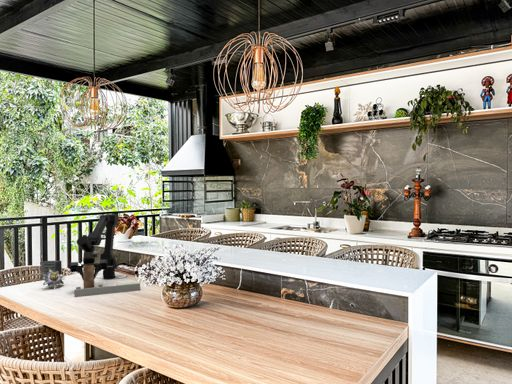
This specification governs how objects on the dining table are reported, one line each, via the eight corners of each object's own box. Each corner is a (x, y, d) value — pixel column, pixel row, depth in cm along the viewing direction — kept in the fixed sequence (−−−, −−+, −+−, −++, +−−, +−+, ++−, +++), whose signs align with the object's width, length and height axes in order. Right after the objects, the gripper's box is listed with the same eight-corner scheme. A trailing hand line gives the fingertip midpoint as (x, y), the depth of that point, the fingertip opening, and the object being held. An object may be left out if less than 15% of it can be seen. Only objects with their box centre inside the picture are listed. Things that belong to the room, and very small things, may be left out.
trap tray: (138, 284, 222) (138, 278, 222) (140, 290, 210) (140, 283, 210) (76, 290, 211) (76, 284, 211) (74, 296, 199) (74, 290, 199)
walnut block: (94, 290, 211) (93, 264, 211) (94, 292, 206) (93, 266, 206) (84, 291, 209) (83, 265, 209) (83, 293, 204) (83, 266, 204)
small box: (62, 276, 248) (62, 260, 248) (56, 279, 241) (55, 262, 241) (46, 276, 249) (46, 260, 249) (40, 279, 242) (39, 262, 242)
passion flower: (55, 298, 218) (44, 283, 211) (43, 292, 223) (32, 278, 216) (71, 283, 225) (61, 269, 218) (59, 278, 230) (50, 263, 223)
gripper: (69, 247, 208) (67, 272, 198) (107, 244, 215) (107, 268, 205) (71, 259, 216) (69, 284, 205) (107, 257, 222) (107, 280, 212)
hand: (88, 279), depth 207 cm, fingers closed on walnut block, 5 cm apart
